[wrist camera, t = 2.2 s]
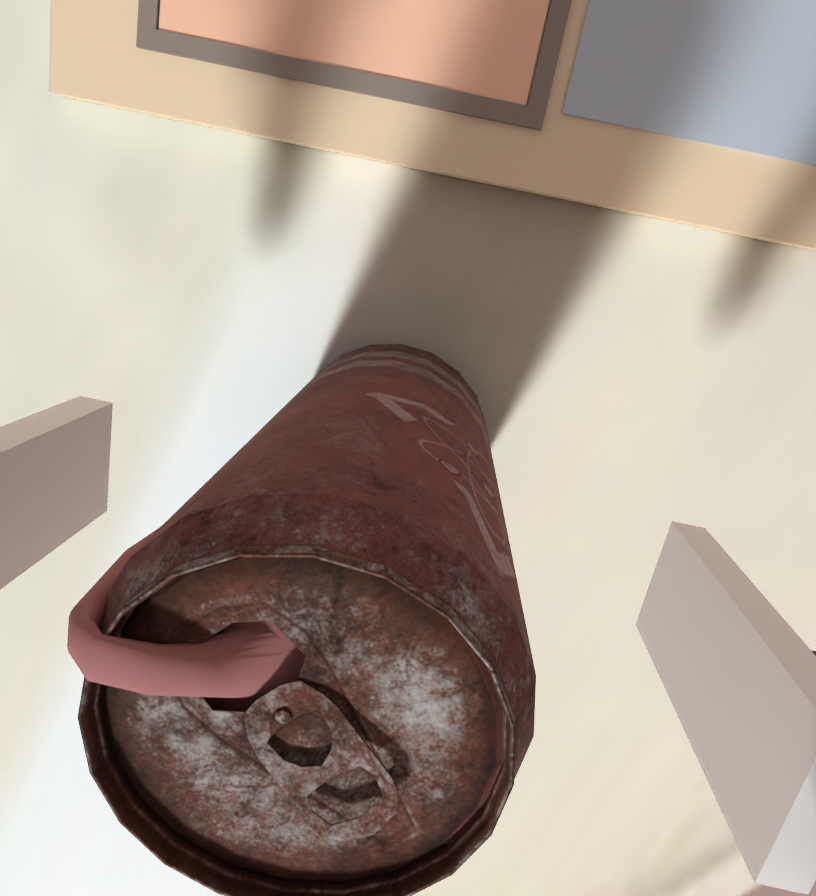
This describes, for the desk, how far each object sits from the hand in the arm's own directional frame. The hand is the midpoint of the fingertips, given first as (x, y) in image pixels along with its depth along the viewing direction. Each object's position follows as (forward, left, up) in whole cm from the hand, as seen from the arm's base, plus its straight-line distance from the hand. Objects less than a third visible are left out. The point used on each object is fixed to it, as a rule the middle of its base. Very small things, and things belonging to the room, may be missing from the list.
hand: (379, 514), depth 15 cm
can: (0, 0, -7) cm, 7 cm away
